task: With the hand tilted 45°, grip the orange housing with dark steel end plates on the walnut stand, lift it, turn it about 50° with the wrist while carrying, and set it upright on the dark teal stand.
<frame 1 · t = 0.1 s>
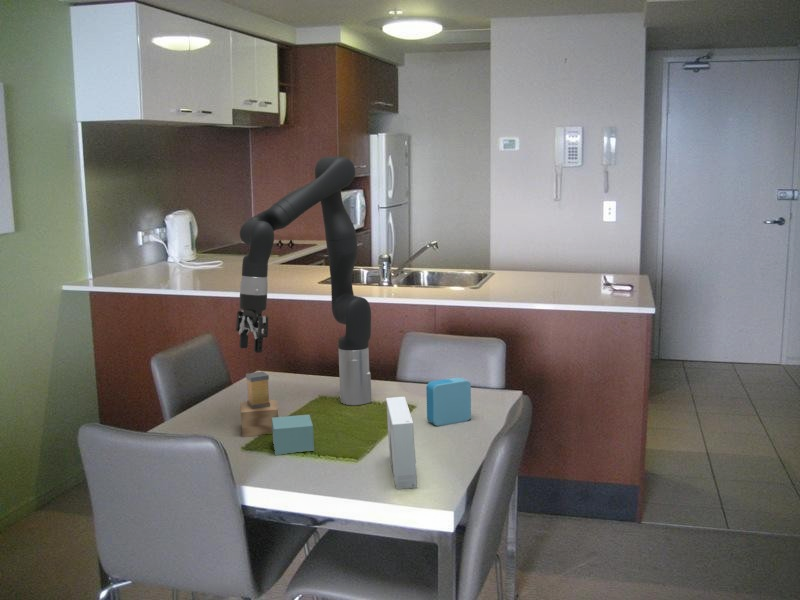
hand: (250, 350, 239), 22 cm above the table, tool pointing down, fingers open, 8 cm apart
housing: (258, 405, 239), point 7 cm above the table, touching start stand
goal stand: (293, 447, 225), on the table
blue rounded flat block: (449, 422, 243), on the table
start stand: (260, 429, 240), on the table
skincare box: (401, 473, 206), on the table
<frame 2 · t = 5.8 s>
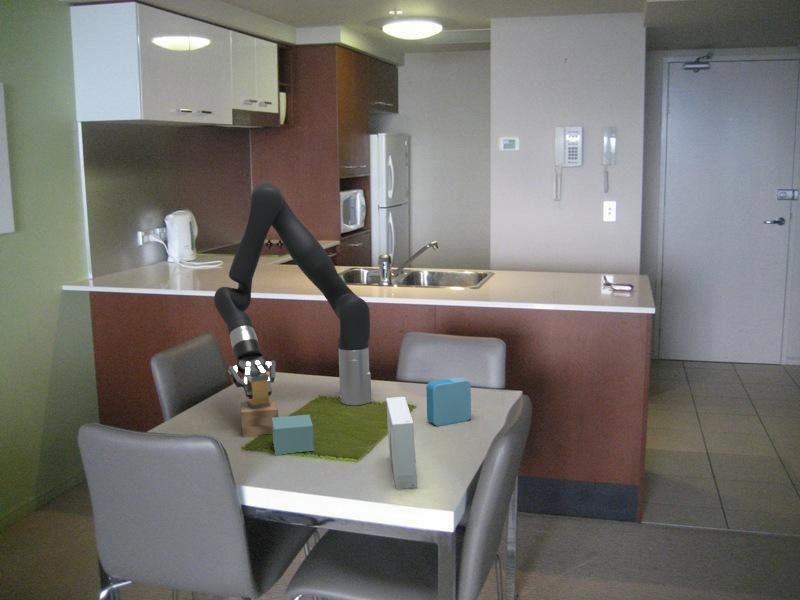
hand: (260, 396, 236), 10 cm above the table, tool tilted 45°, fingers closed on housing, 4 cm apart
housing: (258, 405, 239), point 7 cm above the table, touching gripper, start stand
everything else where it was.
when the fingers open (12 cm above the table, at t = 11.8 s): housing drops 1 cm, resting on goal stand.
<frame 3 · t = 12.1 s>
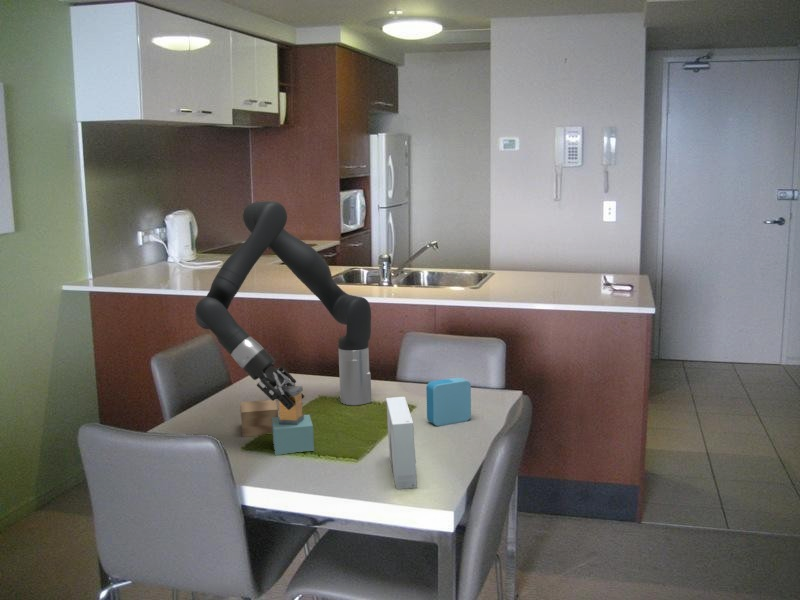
hand: (296, 403, 222), 12 cm above the table, tool tilted 45°, fingers open, 6 cm apart
housing: (291, 421, 224), point 7 cm above the table, touching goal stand
everything else where it was.
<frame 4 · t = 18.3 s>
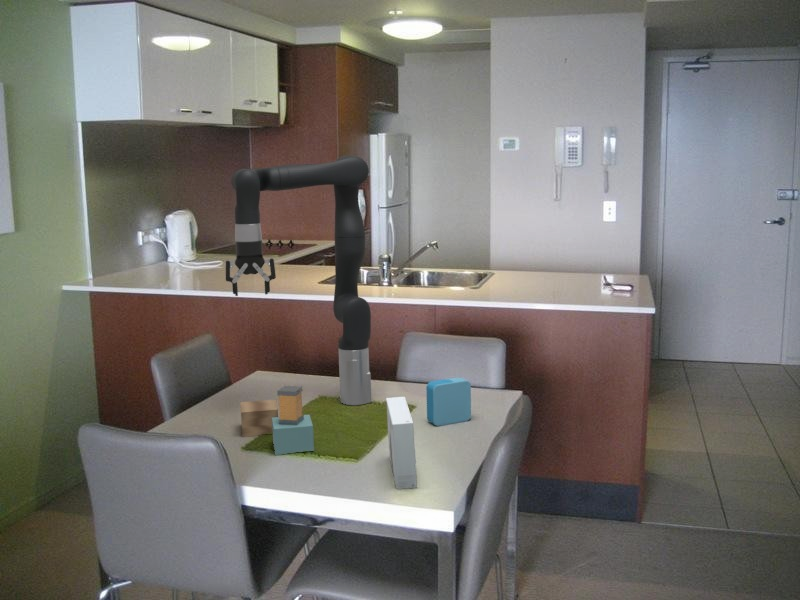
hand: (251, 294, 248), 36 cm above the table, tool pointing down, fingers open, 8 cm apart
nothing on the table moved.
at the end: housing inside the target area on the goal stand (0.2 cm from its centre), point 7.0 cm above the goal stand's base; housing tilted 0°; the gripper is holding nothing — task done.
